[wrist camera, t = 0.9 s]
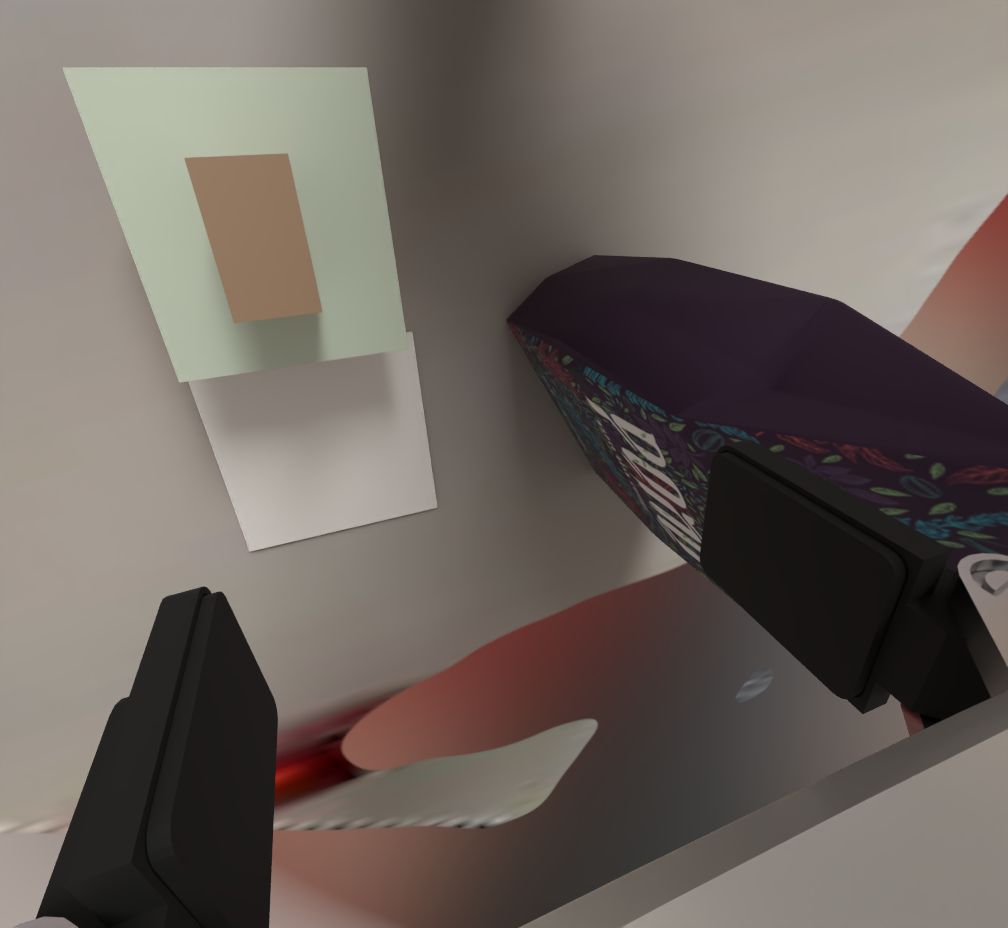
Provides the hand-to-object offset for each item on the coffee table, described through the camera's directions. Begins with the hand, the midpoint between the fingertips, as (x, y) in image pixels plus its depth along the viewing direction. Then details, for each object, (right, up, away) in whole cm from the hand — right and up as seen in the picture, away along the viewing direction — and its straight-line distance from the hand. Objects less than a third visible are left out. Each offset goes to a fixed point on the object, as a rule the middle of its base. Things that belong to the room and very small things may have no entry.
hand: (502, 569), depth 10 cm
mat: (-12, +3, +24) cm, 27 cm away
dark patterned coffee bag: (+7, +9, +29) cm, 31 cm away
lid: (-11, +12, +14) cm, 21 cm away
